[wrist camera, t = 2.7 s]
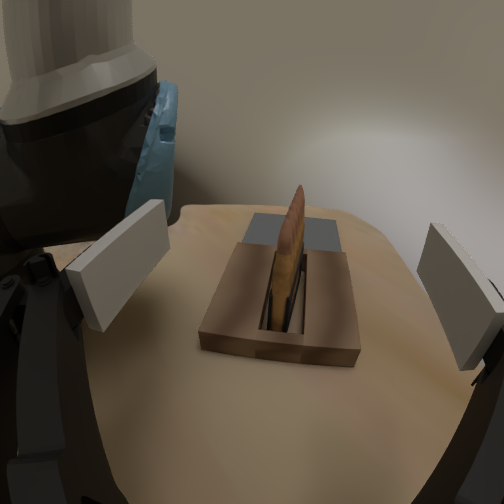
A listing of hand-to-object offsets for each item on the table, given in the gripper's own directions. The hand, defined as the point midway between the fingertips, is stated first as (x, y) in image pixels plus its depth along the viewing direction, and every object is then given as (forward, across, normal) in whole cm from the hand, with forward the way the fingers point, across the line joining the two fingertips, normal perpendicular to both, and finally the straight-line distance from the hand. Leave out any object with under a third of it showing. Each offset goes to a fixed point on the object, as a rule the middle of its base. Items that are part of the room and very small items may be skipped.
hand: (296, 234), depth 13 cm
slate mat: (+27, -1, -14) cm, 31 cm away
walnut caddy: (+12, 0, -14) cm, 19 cm away
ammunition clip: (+12, 0, -15) cm, 19 cm away
